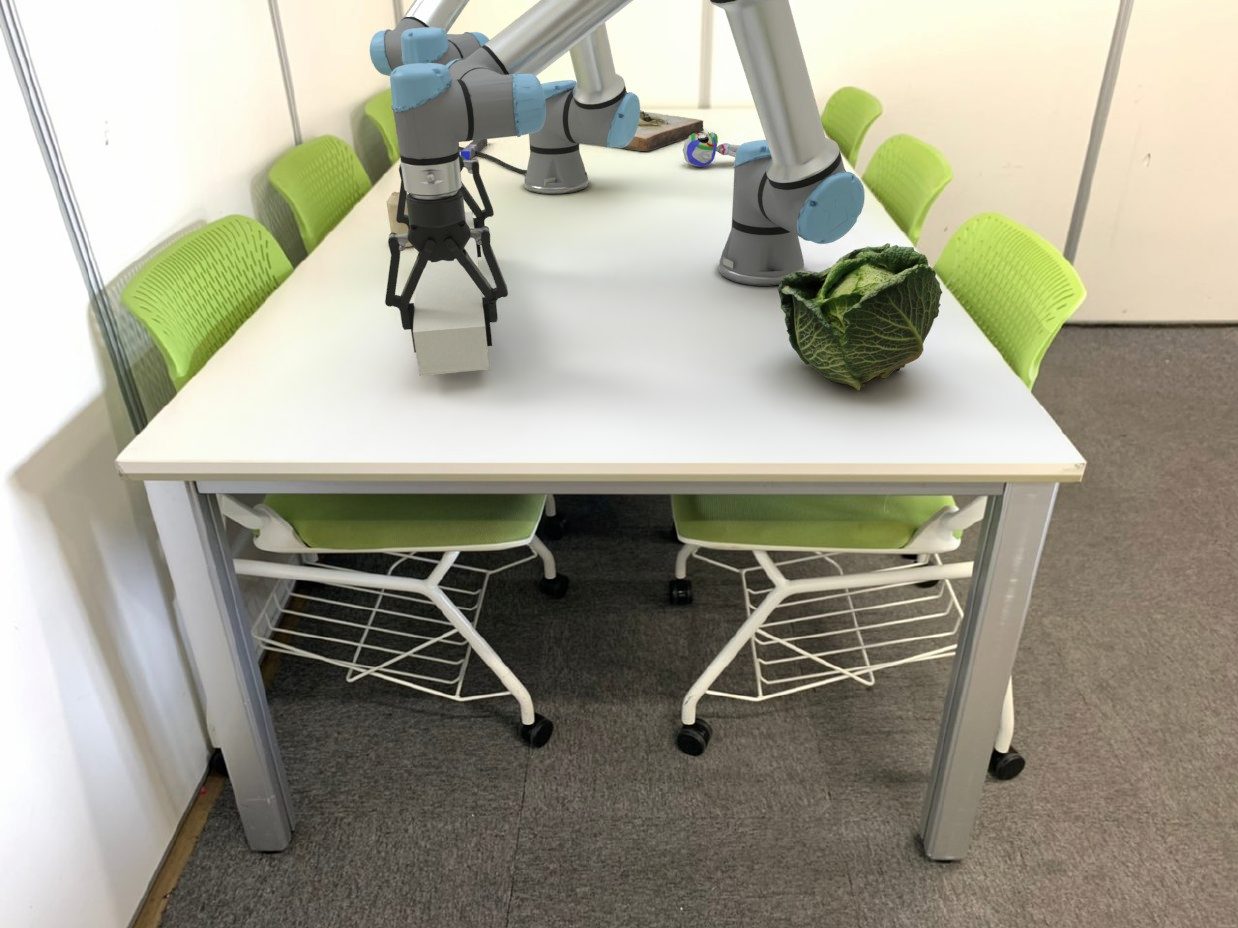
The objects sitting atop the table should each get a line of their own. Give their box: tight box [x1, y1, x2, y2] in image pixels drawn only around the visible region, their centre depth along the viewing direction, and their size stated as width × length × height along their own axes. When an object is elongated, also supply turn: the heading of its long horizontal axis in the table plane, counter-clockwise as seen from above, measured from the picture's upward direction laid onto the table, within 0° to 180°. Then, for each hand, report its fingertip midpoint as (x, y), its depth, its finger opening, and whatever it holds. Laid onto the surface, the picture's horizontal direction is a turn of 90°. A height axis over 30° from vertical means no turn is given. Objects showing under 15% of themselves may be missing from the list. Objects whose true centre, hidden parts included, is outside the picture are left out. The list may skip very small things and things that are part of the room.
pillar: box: [460, 139, 489, 160], centre depth 244 cm, size 2×2×20 cm
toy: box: [682, 131, 741, 168], centre depth 228 cm, size 10×8×30 cm
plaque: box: [621, 109, 705, 152], centre depth 257 cm, size 30×7×30 cm
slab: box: [413, 210, 491, 376], centre depth 146 cm, size 55×10×7 cm, turn 10°
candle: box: [385, 191, 414, 248], centre depth 178 cm, size 6×6×10 cm
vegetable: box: [777, 242, 943, 392], centre depth 124 cm, size 20×19×20 cm
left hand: (450, 257), depth 164 cm, fingers closed on slab, 10 cm apart
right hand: (453, 345), depth 131 cm, fingers closed on slab, 10 cm apart
